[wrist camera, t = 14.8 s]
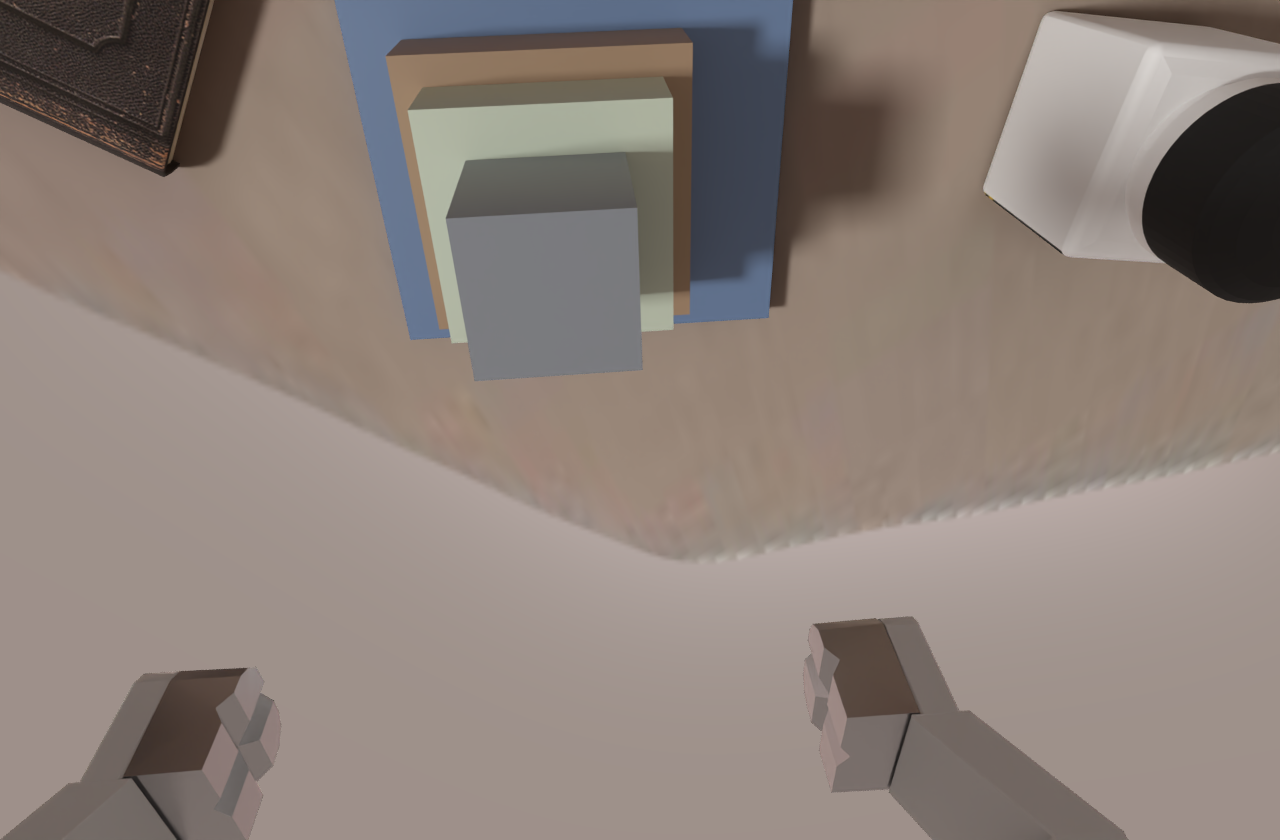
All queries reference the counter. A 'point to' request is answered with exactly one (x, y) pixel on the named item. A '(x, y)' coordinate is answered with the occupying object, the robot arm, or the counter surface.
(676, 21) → the tower
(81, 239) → the counter surface
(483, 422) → the counter surface
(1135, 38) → the medicine bottle
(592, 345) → the slate block
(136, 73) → the hardcover book
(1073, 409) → the counter surface
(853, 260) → the counter surface
